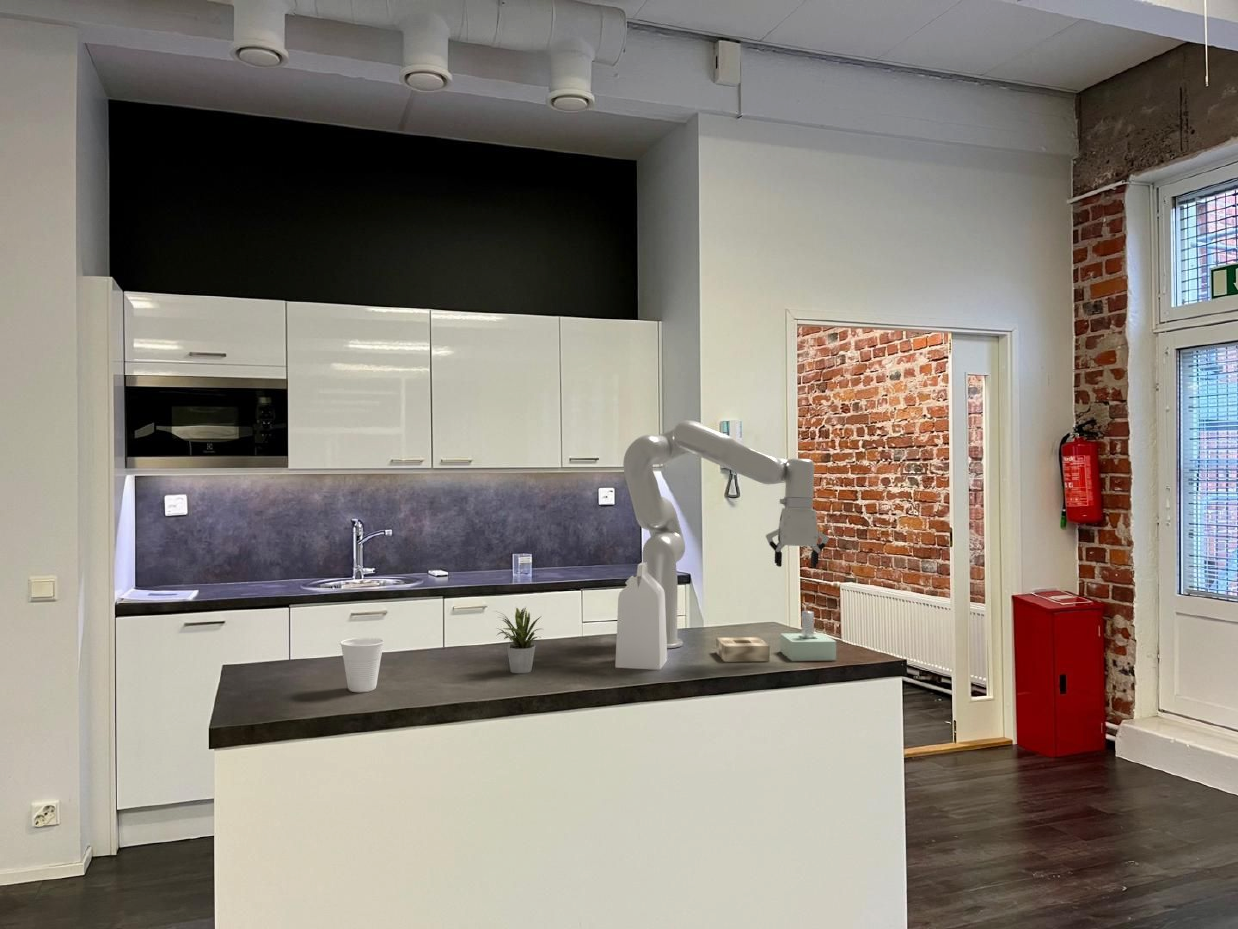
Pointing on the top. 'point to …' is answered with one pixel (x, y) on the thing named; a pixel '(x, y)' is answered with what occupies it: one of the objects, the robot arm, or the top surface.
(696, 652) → the top surface
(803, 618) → the pin
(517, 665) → the house plant
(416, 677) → the top surface
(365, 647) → the cup
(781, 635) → the socket
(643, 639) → the milk
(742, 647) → the mount
